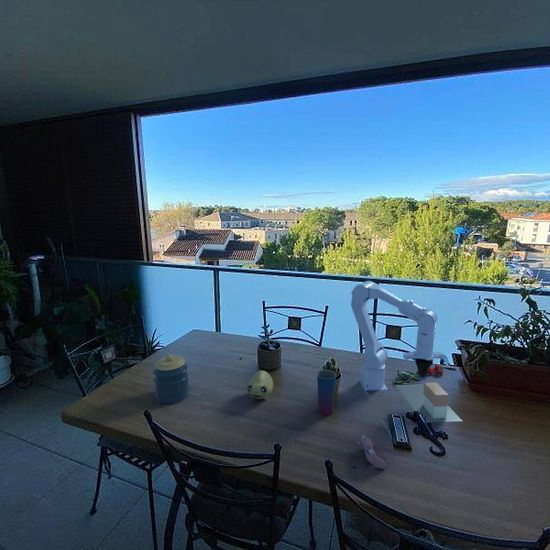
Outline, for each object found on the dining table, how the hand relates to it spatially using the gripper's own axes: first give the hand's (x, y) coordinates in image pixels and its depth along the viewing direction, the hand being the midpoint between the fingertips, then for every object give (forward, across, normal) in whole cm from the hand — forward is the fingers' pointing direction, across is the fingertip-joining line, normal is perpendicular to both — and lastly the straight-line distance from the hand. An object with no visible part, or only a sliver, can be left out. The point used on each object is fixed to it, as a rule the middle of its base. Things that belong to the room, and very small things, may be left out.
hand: (421, 376), depth 123 cm
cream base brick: (+10, +2, -8) cm, 13 cm away
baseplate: (+10, +2, -2) cm, 11 cm away
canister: (+11, -96, +8) cm, 97 cm away
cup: (+11, -37, -5) cm, 39 cm away
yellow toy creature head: (+11, -61, +5) cm, 63 cm away
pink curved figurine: (+11, -28, -28) cm, 41 cm away
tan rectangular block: (+5, +2, -8) cm, 9 cm away
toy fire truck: (+11, +12, +19) cm, 25 cm away
